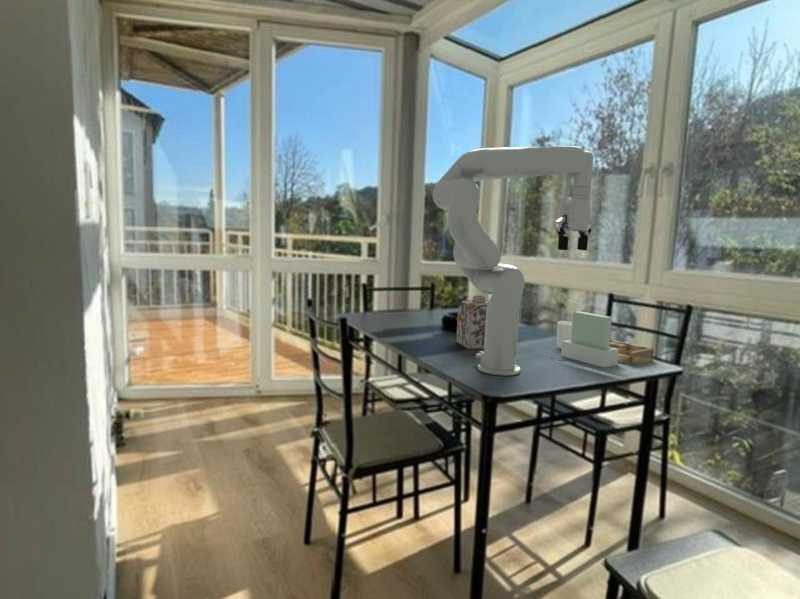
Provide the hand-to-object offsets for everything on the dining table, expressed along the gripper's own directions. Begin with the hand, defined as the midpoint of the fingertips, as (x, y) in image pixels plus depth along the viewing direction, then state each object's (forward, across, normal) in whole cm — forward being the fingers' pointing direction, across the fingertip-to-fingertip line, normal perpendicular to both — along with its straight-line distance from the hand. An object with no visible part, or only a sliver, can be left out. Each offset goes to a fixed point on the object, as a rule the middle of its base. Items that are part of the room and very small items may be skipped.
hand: (572, 249), depth 165 cm
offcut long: (+35, -21, +4) cm, 41 cm away
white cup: (+36, -18, -12) cm, 42 cm away
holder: (+36, -9, +3) cm, 38 cm away
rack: (+36, -22, +5) cm, 43 cm away
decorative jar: (+37, +6, -33) cm, 50 cm away
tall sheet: (+35, -9, +3) cm, 37 cm away
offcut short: (+33, -21, +5) cm, 39 cm away
